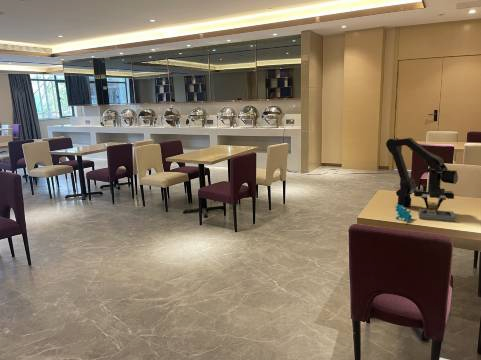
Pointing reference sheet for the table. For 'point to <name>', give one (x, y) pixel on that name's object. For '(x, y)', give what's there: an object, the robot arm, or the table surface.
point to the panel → (436, 215)
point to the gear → (403, 213)
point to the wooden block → (432, 206)
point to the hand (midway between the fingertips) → (432, 209)
